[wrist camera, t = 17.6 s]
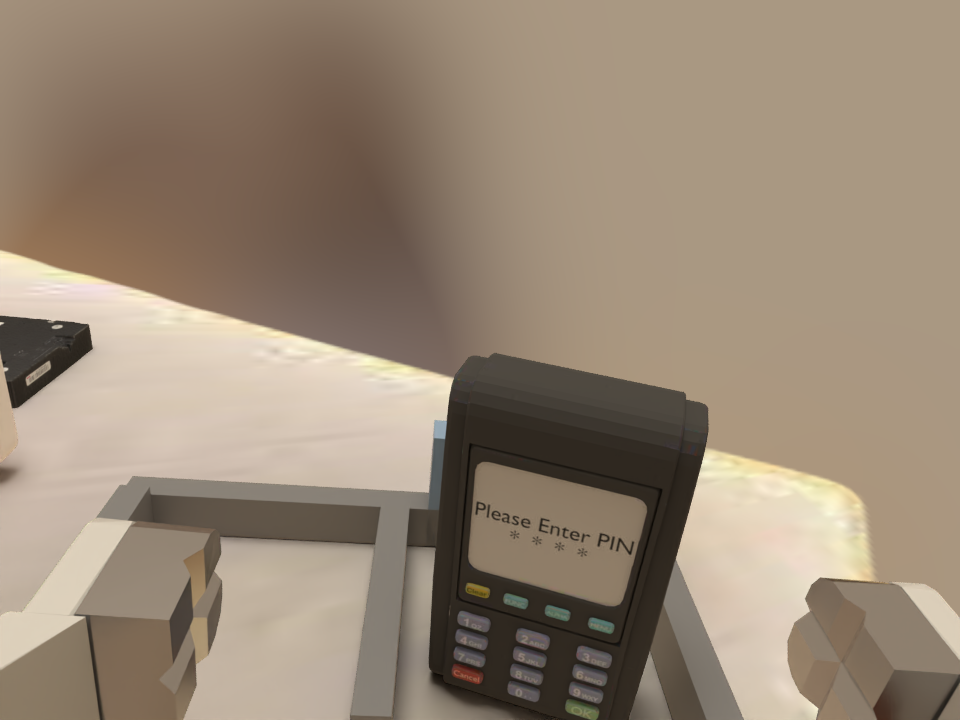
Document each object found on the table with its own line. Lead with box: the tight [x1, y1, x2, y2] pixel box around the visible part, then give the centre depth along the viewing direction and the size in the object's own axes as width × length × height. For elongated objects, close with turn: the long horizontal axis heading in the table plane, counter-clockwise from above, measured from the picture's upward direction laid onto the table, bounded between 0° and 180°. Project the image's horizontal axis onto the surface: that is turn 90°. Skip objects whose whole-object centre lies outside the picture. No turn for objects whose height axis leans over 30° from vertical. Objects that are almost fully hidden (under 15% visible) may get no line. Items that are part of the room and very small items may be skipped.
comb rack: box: [96, 420, 744, 720], centre depth 32 cm, size 28×15×7 cm, turn 92°
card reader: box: [429, 353, 708, 720], centre depth 28 cm, size 9×4×15 cm, turn 74°
